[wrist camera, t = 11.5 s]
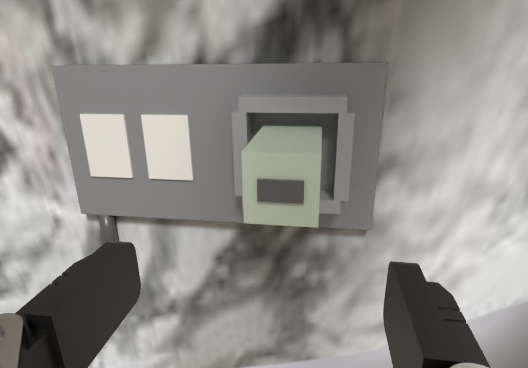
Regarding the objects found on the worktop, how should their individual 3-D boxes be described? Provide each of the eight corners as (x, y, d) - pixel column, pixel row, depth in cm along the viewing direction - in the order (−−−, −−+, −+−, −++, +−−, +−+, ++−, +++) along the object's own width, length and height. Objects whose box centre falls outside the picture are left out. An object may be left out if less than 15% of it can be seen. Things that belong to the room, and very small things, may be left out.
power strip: (60, 65, 27) (33, 66, 25) (385, 62, 24) (393, 63, 21) (96, 248, 33) (76, 265, 30) (365, 268, 29) (369, 289, 27)
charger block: (265, 123, 26) (240, 152, 18) (321, 124, 25) (321, 155, 17) (265, 176, 27) (243, 224, 19) (319, 178, 26) (318, 229, 19)
